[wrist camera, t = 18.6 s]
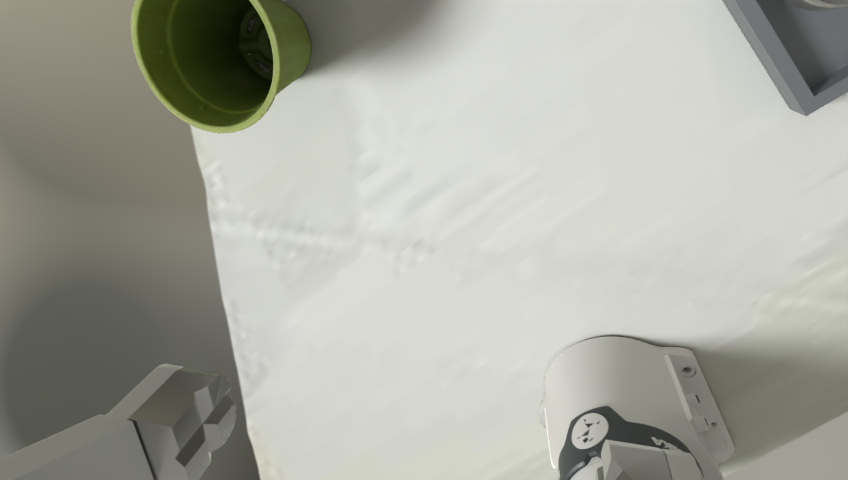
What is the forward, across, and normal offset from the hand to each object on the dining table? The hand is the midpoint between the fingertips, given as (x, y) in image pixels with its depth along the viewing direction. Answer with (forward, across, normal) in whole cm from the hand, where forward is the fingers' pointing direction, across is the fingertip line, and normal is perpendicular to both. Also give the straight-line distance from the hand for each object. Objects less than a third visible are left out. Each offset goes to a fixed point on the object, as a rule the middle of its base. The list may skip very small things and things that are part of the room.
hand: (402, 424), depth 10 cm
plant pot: (+37, +22, -5) cm, 43 cm away
